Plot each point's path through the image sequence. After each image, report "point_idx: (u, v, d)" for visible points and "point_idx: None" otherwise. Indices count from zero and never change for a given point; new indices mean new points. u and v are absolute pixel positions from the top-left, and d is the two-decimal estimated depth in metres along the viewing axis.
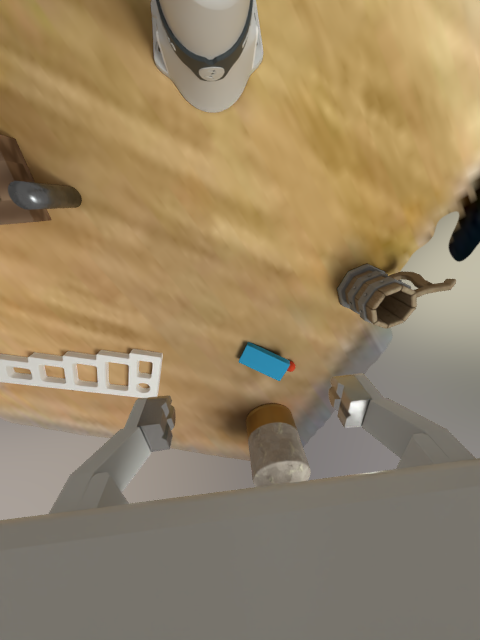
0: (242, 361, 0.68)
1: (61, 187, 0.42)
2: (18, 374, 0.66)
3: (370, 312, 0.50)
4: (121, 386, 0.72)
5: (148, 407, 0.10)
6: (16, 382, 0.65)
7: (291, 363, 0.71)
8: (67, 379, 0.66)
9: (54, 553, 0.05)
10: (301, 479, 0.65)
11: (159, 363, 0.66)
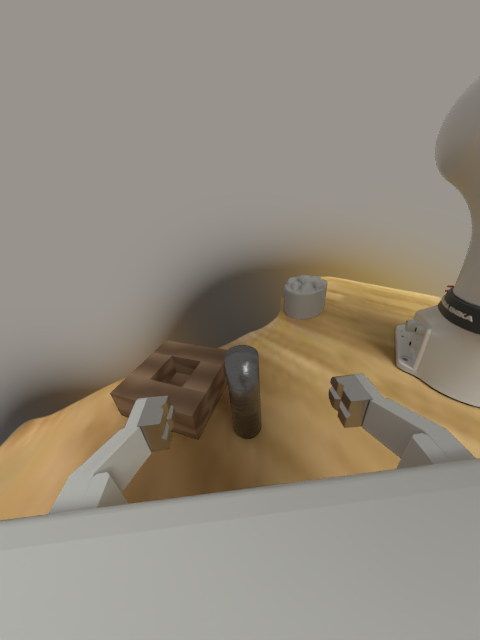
0: None
1: None
2: None
3: None
4: None
5: (148, 407, 0.10)
6: None
7: None
8: None
9: (54, 553, 0.05)
10: None
11: None
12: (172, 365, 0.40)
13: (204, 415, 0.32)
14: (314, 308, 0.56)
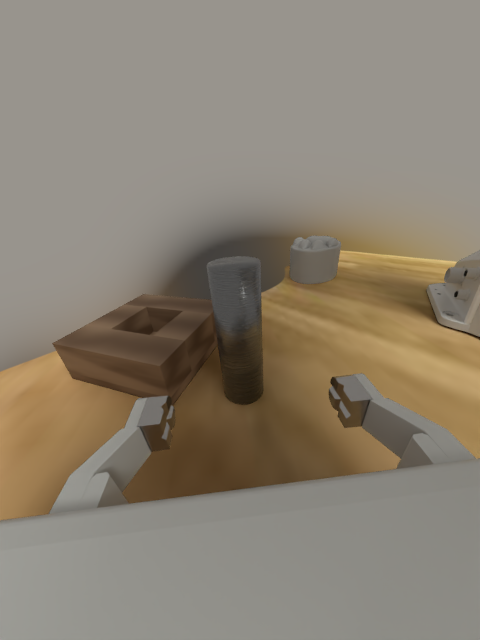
0: None
1: None
2: None
3: None
4: None
5: (148, 407, 0.10)
6: None
7: None
8: None
9: (54, 553, 0.05)
10: None
11: None
12: (147, 319, 0.31)
13: (182, 373, 0.22)
14: (326, 270, 0.47)
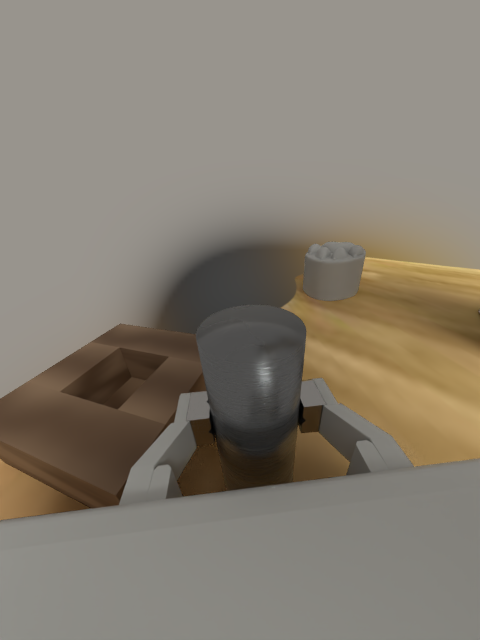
0: None
1: None
2: None
3: None
4: None
5: (194, 402, 0.10)
6: None
7: None
8: None
9: (54, 553, 0.05)
10: None
11: None
12: (121, 364, 0.22)
13: None
14: (350, 284, 0.39)
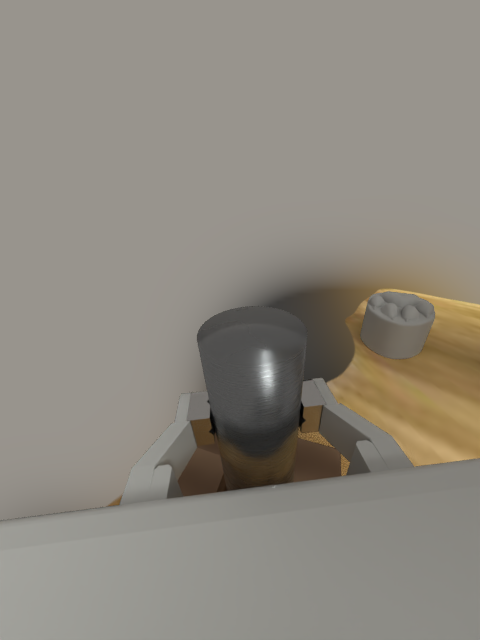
0: None
1: None
2: None
3: None
4: None
5: (194, 402, 0.10)
6: None
7: None
8: None
9: (54, 553, 0.05)
10: None
11: None
12: None
13: None
14: (420, 343, 0.38)
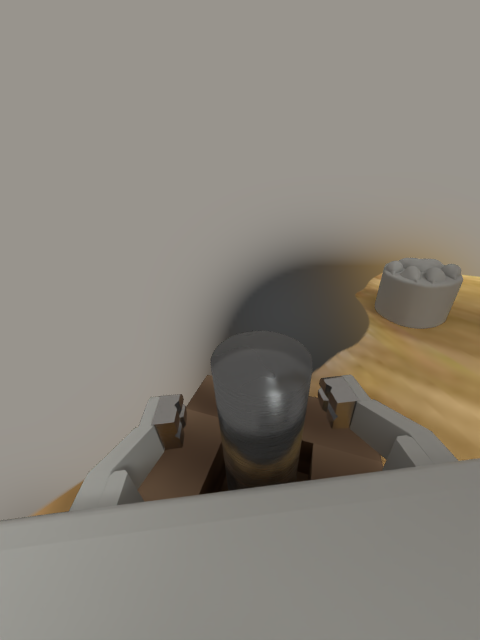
0: None
1: None
2: None
3: None
4: None
5: (161, 406, 0.10)
6: None
7: None
8: None
9: (54, 553, 0.05)
10: None
11: None
12: None
13: None
14: (446, 310, 0.34)
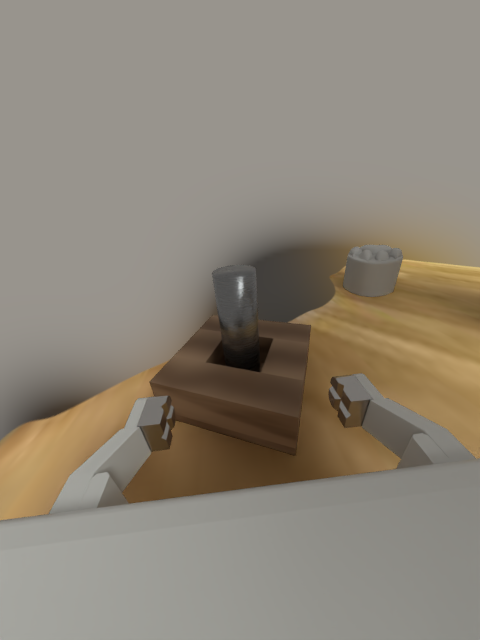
0: None
1: None
2: None
3: None
4: None
5: (148, 407, 0.10)
6: None
7: None
8: None
9: (54, 553, 0.05)
10: None
11: None
12: None
13: None
14: (391, 282, 0.45)
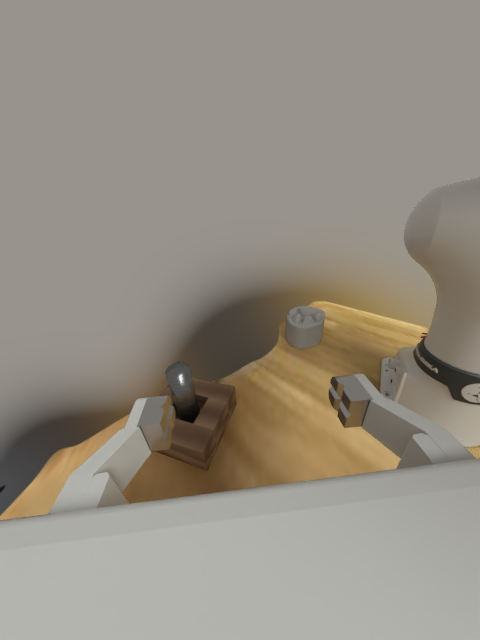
0: None
1: None
2: None
3: None
4: None
5: (148, 407, 0.10)
6: None
7: None
8: None
9: (54, 553, 0.05)
10: None
11: None
12: None
13: (212, 448, 0.37)
14: (314, 338, 0.62)
